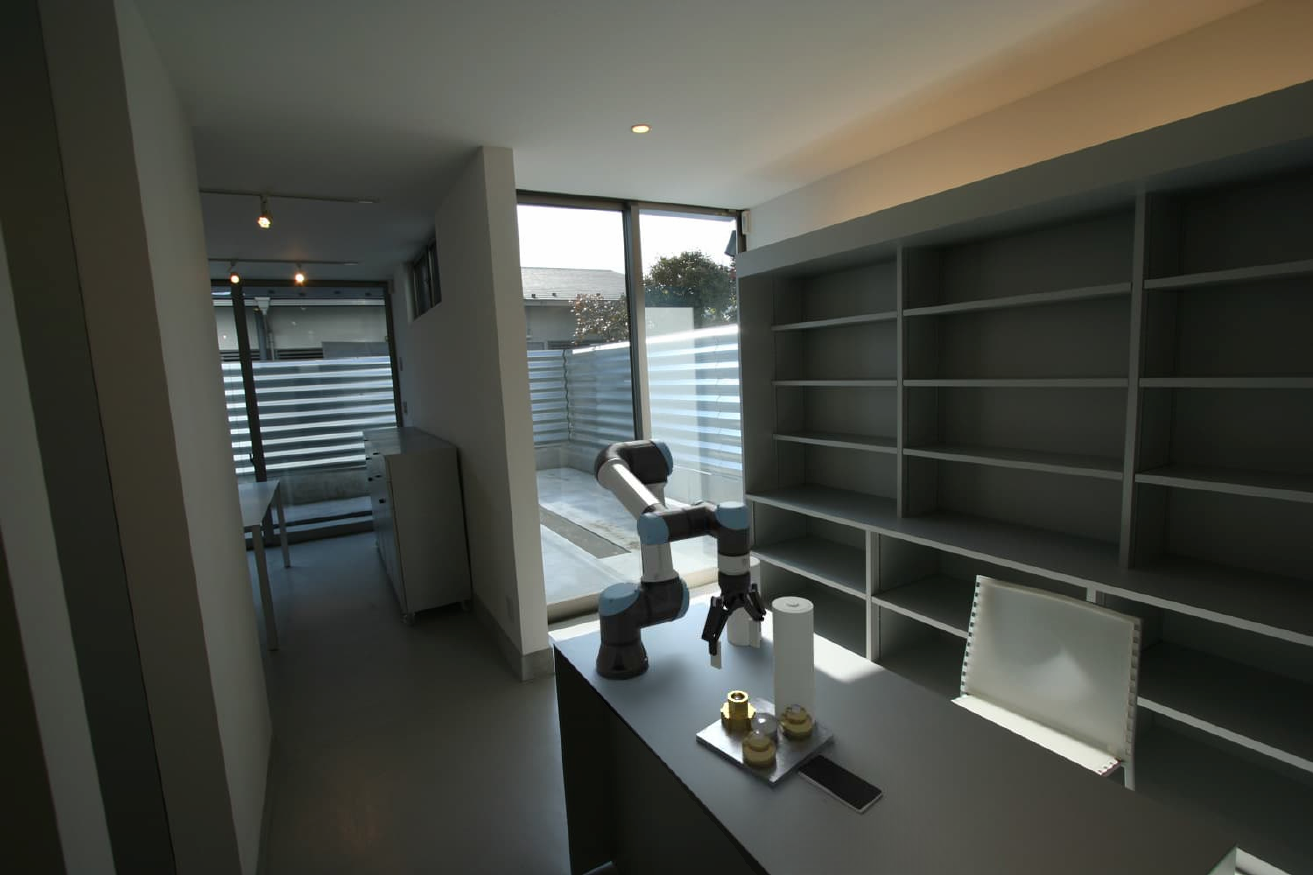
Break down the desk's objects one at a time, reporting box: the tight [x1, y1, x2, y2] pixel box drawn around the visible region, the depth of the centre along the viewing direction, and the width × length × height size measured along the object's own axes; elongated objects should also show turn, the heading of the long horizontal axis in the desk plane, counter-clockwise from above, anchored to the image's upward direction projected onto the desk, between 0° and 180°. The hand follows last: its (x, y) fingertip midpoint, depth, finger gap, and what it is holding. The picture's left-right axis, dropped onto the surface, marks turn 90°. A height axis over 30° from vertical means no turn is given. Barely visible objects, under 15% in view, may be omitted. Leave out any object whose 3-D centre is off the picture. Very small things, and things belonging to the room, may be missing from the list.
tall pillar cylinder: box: [725, 555, 762, 647], centre depth 184 cm, size 11×11×25 cm
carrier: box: [695, 696, 835, 790], centre depth 135 cm, size 22×22×7 cm
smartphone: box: [797, 754, 883, 814], centre depth 121 cm, size 8×1×15 cm
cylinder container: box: [771, 596, 816, 725], centre depth 141 cm, size 9×9×30 cm
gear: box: [720, 690, 756, 731], centre depth 141 cm, size 8×8×6 cm
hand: (735, 656), depth 140 cm, fingers open, 13 cm apart
